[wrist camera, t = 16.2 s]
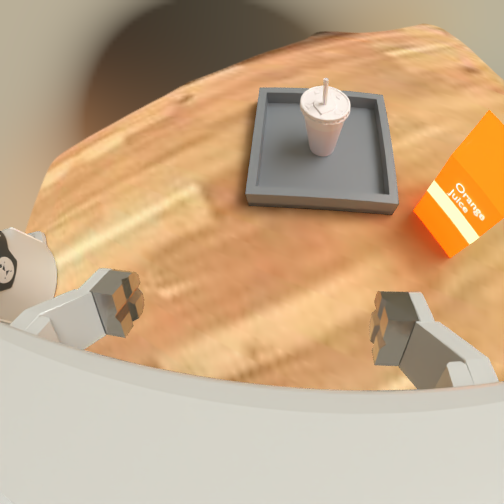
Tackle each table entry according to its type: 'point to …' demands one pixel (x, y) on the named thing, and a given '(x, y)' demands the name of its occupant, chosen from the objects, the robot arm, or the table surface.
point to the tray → (321, 168)
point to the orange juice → (467, 189)
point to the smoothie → (324, 116)
